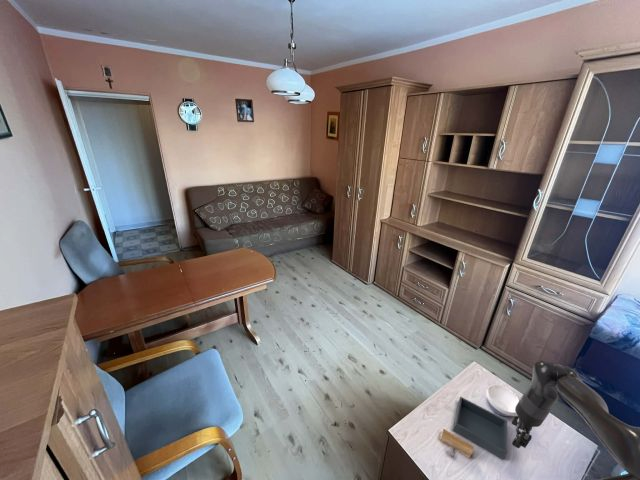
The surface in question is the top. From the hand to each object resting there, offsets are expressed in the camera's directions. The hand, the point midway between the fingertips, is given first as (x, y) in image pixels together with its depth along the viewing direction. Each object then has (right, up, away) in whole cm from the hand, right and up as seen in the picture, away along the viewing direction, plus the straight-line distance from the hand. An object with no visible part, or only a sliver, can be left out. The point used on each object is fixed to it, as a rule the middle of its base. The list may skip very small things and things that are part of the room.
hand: (514, 434), depth 96 cm
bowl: (+18, -13, +36) cm, 42 cm away
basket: (+2, -17, +26) cm, 31 cm away
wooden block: (-14, -20, +17) cm, 30 cm away
